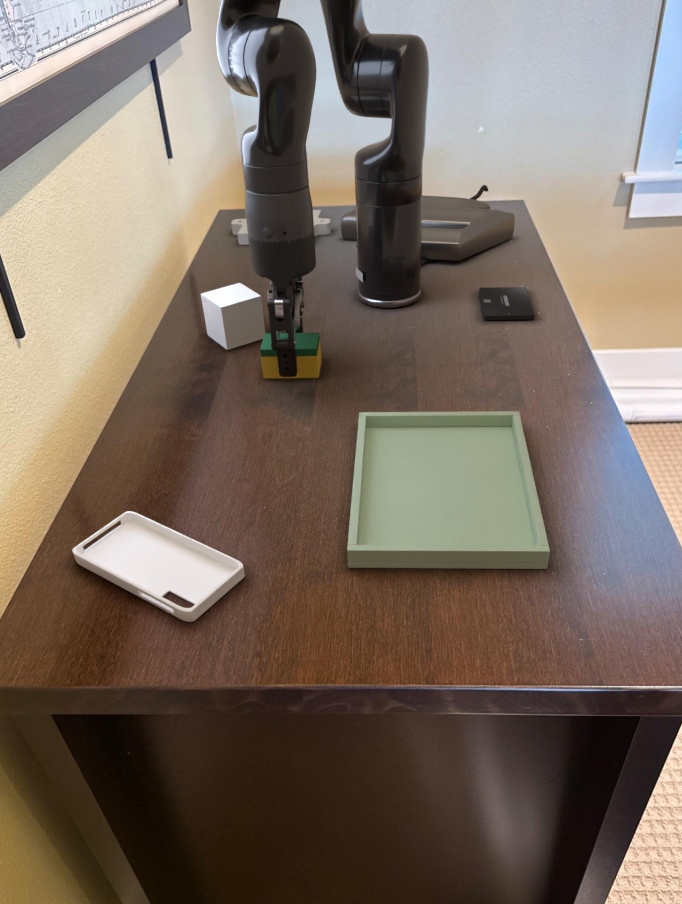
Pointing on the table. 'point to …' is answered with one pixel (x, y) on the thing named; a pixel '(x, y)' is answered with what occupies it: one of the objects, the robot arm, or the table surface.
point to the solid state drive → (506, 303)
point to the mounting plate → (320, 224)
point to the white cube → (233, 315)
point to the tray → (444, 493)
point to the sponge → (305, 353)
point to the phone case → (160, 565)
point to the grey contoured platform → (452, 227)
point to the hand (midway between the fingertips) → (292, 359)
